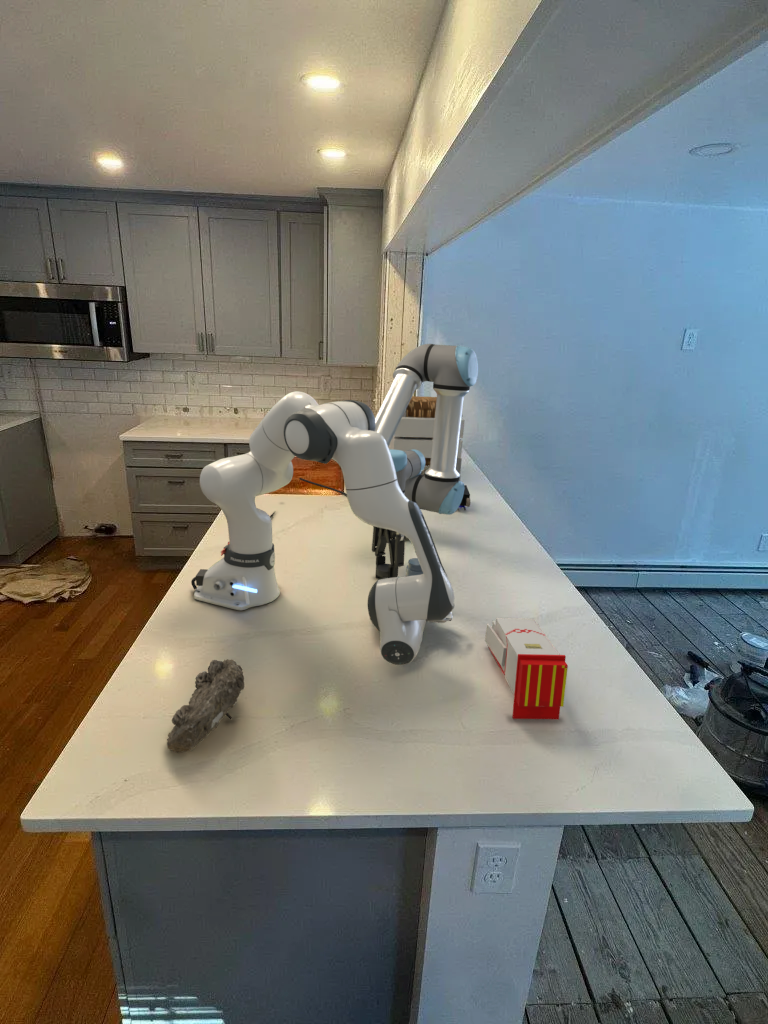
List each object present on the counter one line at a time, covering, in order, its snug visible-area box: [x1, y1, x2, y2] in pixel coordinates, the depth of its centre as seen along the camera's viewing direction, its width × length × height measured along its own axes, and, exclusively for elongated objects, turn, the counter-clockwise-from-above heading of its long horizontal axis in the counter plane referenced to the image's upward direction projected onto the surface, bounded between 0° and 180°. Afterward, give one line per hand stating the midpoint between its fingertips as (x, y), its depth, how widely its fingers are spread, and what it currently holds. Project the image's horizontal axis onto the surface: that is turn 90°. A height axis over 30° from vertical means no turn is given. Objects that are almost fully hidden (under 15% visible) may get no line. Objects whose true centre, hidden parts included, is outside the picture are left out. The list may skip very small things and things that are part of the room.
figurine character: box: [456, 484, 471, 512], centre depth 229 cm, size 7×8×15 cm
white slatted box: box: [388, 395, 465, 481], centre depth 268 cm, size 34×33×41 cm
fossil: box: [166, 658, 245, 754], centre depth 106 cm, size 22×10×15 cm
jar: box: [405, 557, 423, 577], centre depth 145 cm, size 5×5×15 cm
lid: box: [377, 563, 391, 579], centre depth 164 cm, size 6×6×2 cm
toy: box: [484, 617, 569, 720], centre depth 122 cm, size 12×13×30 cm
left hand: (414, 589), depth 146 cm, fingers closed on jar, 5 cm apart
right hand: (386, 581), depth 165 cm, fingers closed on lid, 6 cm apart
